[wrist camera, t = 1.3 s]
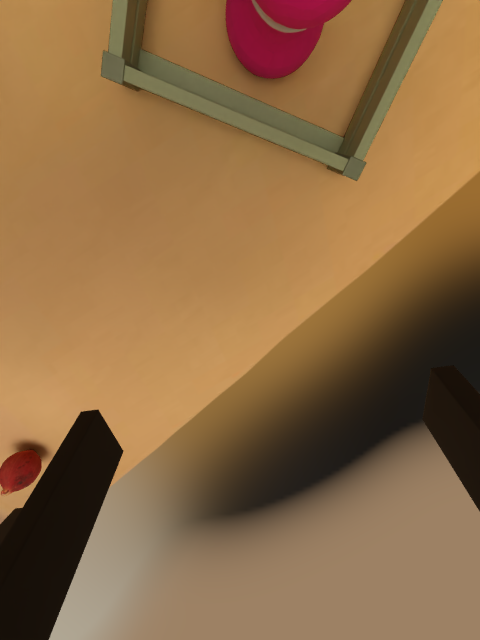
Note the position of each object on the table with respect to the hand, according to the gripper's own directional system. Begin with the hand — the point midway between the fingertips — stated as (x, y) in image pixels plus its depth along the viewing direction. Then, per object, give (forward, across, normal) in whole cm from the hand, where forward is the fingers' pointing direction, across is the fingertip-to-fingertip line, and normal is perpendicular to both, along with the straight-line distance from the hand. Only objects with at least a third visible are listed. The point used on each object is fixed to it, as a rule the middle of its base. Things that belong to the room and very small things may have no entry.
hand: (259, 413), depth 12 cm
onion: (+26, -46, -31) cm, 61 cm away
